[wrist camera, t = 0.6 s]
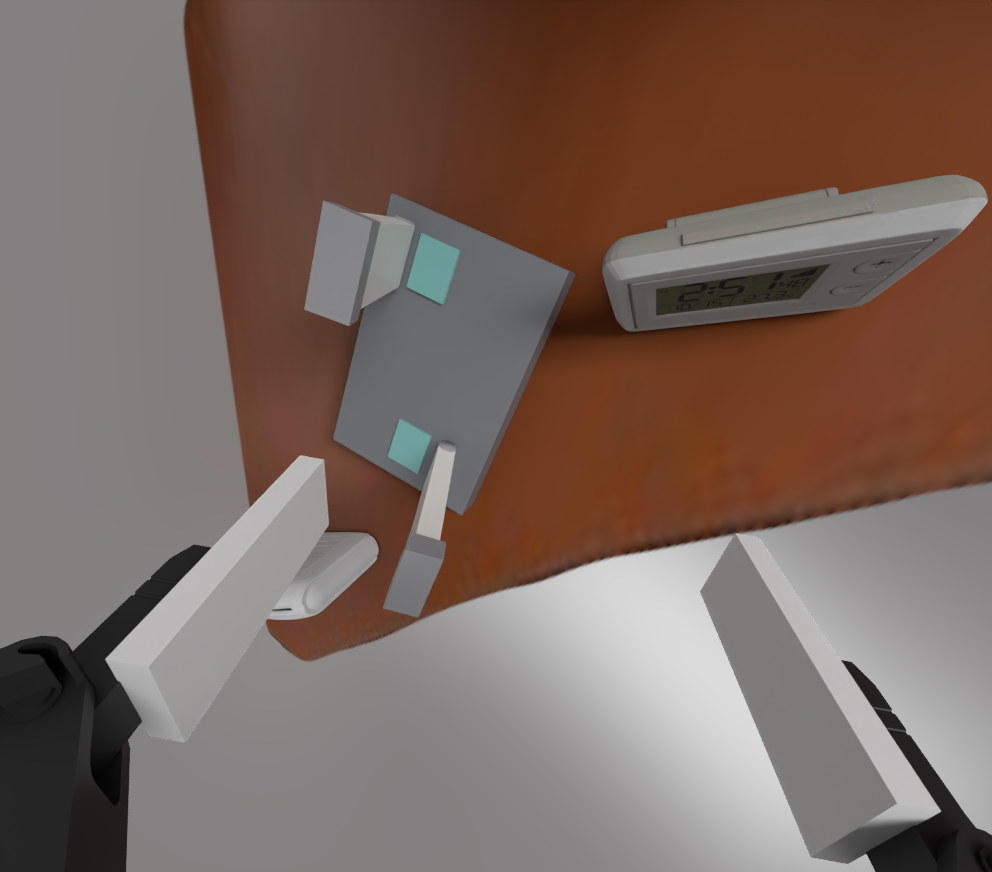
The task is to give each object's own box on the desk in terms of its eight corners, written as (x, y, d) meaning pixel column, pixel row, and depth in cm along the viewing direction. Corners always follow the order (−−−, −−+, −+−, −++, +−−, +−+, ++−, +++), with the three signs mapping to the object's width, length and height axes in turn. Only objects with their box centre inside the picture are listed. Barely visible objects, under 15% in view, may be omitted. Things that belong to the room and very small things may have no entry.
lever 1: (421, 225, 33) (372, 221, 20) (403, 290, 35) (349, 326, 22) (392, 212, 33) (323, 200, 19) (376, 279, 35) (304, 309, 22)
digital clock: (608, 328, 33) (589, 339, 24) (626, 202, 30) (614, 157, 21) (847, 348, 28) (946, 373, 19) (898, 201, 25) (1048, 140, 16)
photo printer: (321, 559, 54) (236, 625, 43) (311, 530, 53) (221, 590, 42) (384, 560, 50) (308, 633, 39) (374, 529, 49) (293, 595, 38)
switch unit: (576, 273, 33) (568, 271, 30) (474, 502, 43) (460, 517, 40) (411, 200, 35) (389, 191, 32) (351, 431, 45) (331, 440, 43)
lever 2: (461, 445, 38) (443, 560, 25) (443, 490, 40) (418, 617, 27) (436, 436, 37) (405, 549, 24) (419, 482, 40) (382, 608, 27)
